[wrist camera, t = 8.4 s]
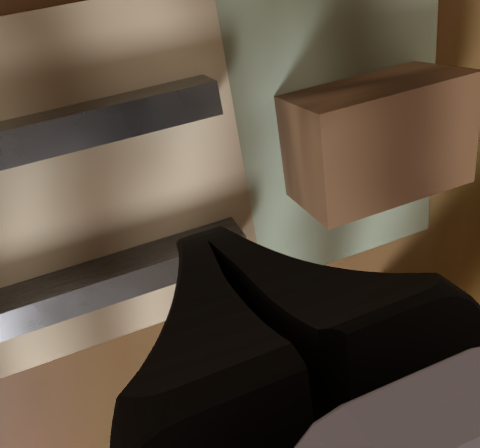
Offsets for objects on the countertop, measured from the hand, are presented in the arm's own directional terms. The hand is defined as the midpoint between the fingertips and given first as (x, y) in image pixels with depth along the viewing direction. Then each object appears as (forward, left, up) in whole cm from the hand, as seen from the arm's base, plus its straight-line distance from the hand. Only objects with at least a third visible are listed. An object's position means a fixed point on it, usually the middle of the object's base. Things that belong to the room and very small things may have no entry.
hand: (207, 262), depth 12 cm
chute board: (+2, 0, -8) cm, 8 cm away
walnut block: (+9, 0, -7) cm, 11 cm away
